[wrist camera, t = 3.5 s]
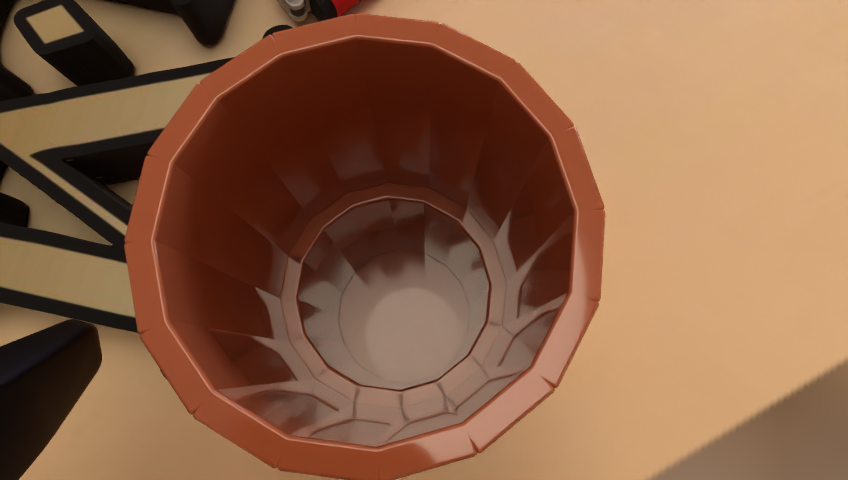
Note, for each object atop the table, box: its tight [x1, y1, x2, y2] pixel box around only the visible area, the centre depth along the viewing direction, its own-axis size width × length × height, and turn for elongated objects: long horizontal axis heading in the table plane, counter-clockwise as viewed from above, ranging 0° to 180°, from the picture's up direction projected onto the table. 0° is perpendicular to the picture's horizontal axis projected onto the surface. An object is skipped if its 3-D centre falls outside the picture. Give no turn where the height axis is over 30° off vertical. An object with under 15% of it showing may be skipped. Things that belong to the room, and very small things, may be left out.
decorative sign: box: [0, 0, 293, 378], centre depth 20 cm, size 17×2×20 cm
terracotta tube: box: [124, 13, 605, 480], centre depth 13 cm, size 6×6×13 cm
